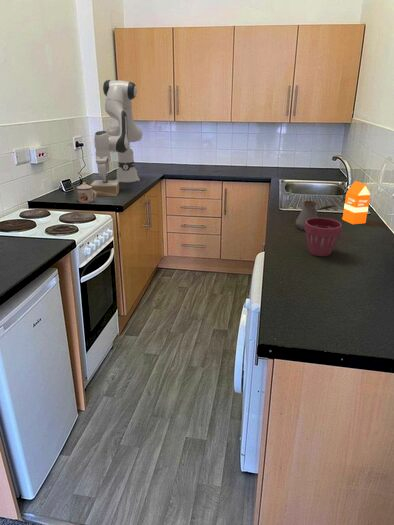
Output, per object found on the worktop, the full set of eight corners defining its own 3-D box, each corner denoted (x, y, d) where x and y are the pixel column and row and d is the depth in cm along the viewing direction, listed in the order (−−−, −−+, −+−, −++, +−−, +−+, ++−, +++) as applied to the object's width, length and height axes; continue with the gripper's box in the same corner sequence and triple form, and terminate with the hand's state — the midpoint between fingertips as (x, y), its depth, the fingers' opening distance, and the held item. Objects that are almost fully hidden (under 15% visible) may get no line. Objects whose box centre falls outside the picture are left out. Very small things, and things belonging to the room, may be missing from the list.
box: (96, 192, 258) (95, 182, 256) (119, 192, 259) (118, 181, 257) (92, 197, 247) (91, 186, 244) (116, 196, 247) (115, 185, 245)
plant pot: (336, 261, 152) (341, 229, 147) (299, 255, 157) (303, 225, 152) (338, 248, 164) (343, 219, 159) (304, 244, 169) (307, 215, 164)
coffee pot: (290, 226, 192) (293, 196, 186) (308, 223, 197) (311, 194, 191) (320, 239, 175) (325, 207, 169) (339, 236, 179) (344, 204, 174)
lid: (94, 181, 256) (94, 174, 254) (119, 181, 257) (118, 174, 255) (90, 186, 243) (89, 178, 241) (116, 186, 244) (116, 178, 242)
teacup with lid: (75, 203, 233) (72, 183, 228) (83, 199, 241) (81, 180, 236) (92, 204, 229) (90, 185, 225) (100, 201, 237) (99, 182, 233)
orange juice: (352, 224, 196) (359, 184, 188) (341, 219, 204) (347, 181, 196) (365, 223, 198) (372, 183, 190) (354, 218, 206) (361, 180, 198)
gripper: (100, 156, 253) (102, 177, 259) (95, 161, 235) (97, 183, 240) (110, 156, 254) (112, 177, 259) (105, 160, 235) (107, 183, 240)
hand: (105, 180), depth 249 cm, fingers closed on lid, 3 cm apart
